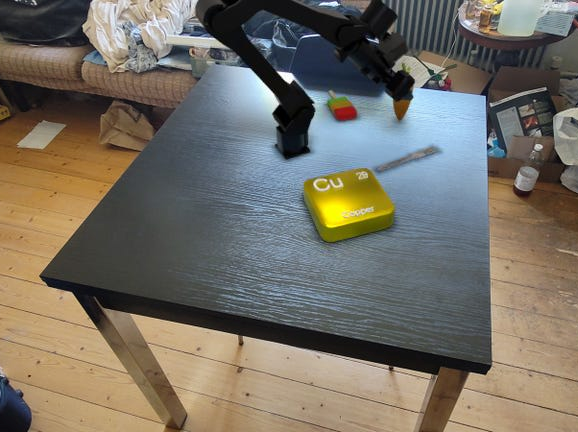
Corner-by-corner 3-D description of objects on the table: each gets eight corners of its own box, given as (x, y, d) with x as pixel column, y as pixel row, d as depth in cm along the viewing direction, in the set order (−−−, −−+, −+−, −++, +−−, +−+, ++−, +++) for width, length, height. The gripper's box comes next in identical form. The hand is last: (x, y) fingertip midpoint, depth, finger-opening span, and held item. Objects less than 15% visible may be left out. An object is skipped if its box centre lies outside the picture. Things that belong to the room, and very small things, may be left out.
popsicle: (338, 121, 114) (338, 115, 113) (320, 95, 124) (320, 89, 123) (358, 118, 115) (358, 112, 114) (339, 92, 126) (339, 86, 125)
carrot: (408, 126, 113) (415, 70, 103) (388, 124, 114) (394, 68, 103) (409, 116, 116) (417, 61, 106) (390, 114, 117) (396, 59, 107)
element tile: (323, 245, 82) (323, 227, 79) (301, 196, 93) (300, 178, 89) (396, 226, 86) (399, 208, 83) (367, 181, 96) (368, 163, 93)
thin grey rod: (380, 172, 99) (380, 171, 98) (375, 168, 100) (375, 167, 100) (437, 151, 105) (438, 150, 105) (432, 147, 106) (433, 146, 106)
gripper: (413, 40, 90) (447, 79, 101) (367, 11, 102) (402, 49, 113) (377, 84, 93) (414, 118, 104) (337, 51, 105) (374, 84, 116)
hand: (401, 90), depth 109 cm, fingers open, 9 cm apart
